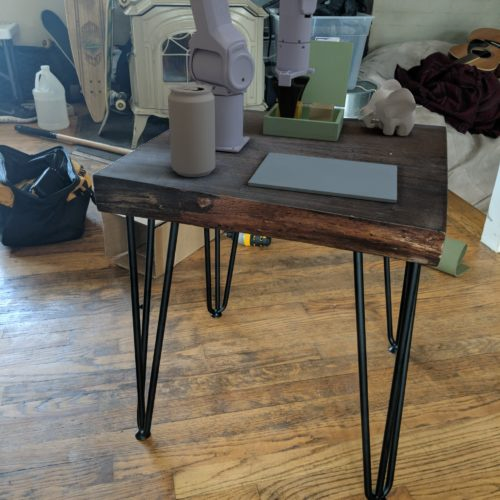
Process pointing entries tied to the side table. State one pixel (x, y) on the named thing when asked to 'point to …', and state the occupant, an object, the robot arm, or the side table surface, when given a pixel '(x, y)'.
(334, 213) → the side table surface
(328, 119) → the birch block
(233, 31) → the robot arm
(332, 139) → the box
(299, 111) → the mustard block
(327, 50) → the lunchbox lid
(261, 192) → the side table surface
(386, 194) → the placemat
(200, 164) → the beverage can
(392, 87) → the elephant figurine
